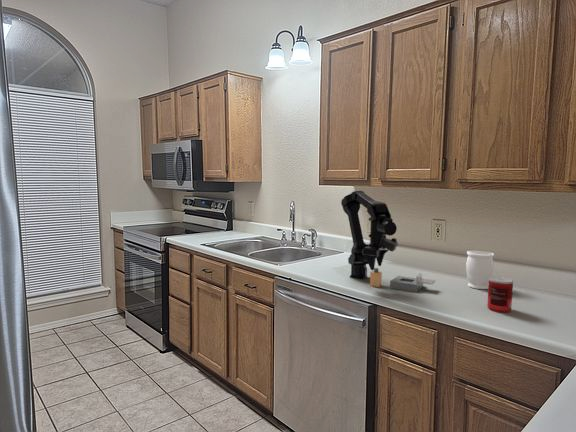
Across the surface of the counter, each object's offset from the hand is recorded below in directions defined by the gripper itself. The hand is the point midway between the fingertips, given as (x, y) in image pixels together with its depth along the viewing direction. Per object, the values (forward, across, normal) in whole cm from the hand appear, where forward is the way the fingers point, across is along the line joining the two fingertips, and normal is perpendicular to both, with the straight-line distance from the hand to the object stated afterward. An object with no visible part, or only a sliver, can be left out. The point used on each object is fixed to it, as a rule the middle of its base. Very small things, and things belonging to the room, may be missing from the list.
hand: (376, 267), depth 174 cm
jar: (+8, +22, -38) cm, 45 cm away
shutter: (+4, +5, -20) cm, 21 cm away
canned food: (+8, -6, -48) cm, 49 cm away
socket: (+8, +5, -12) cm, 15 cm away
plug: (+8, 0, 0) cm, 8 cm away
